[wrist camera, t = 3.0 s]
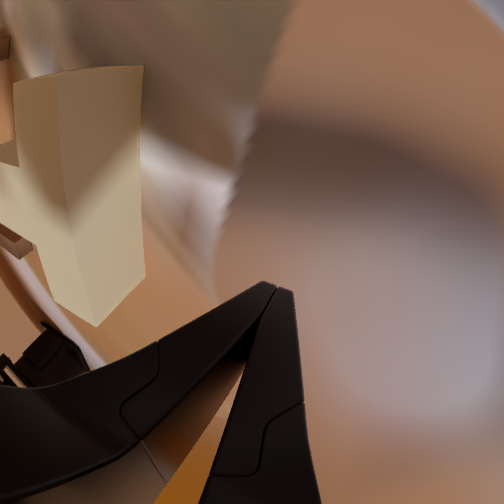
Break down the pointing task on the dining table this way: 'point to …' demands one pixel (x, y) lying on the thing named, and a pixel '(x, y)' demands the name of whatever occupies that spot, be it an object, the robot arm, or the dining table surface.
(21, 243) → the frame
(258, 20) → the dining table surface
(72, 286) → the T block
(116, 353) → the dining table surface
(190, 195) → the dining table surface
